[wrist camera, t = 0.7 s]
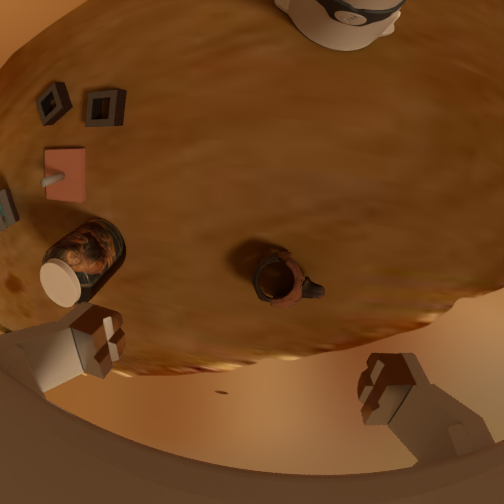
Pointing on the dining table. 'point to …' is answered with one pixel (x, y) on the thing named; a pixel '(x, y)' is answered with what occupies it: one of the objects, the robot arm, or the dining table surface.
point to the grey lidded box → (7, 210)
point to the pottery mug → (298, 290)
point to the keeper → (65, 174)
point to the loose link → (62, 102)
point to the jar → (82, 262)
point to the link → (115, 108)
